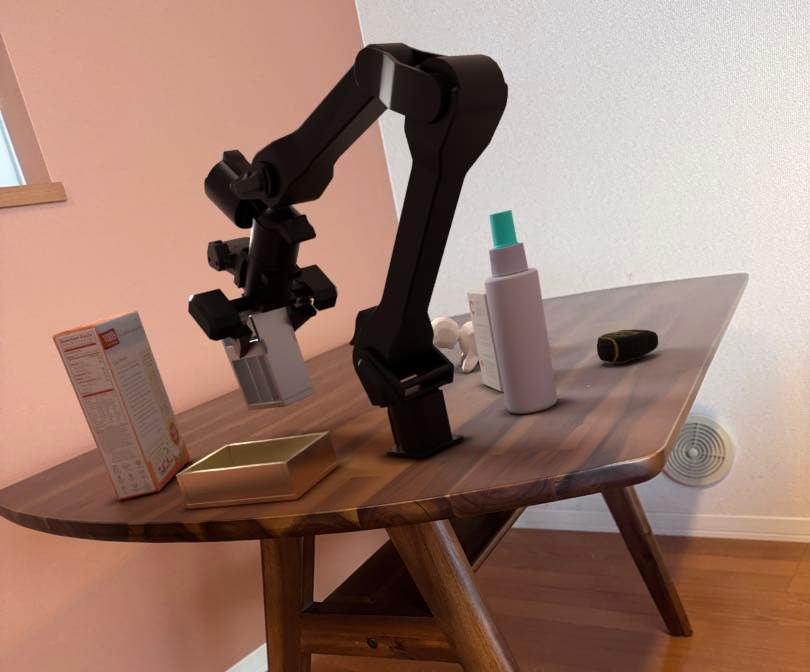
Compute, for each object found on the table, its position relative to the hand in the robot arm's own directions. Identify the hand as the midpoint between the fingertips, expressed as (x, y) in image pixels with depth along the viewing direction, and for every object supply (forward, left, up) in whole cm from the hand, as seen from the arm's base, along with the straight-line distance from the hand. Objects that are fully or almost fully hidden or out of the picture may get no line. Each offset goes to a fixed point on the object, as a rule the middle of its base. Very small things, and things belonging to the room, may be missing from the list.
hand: (258, 350), depth 104 cm
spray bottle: (-32, -16, -12) cm, 38 cm away
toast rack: (-1, 0, -7) cm, 7 cm away
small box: (-20, -26, -12) cm, 35 cm away
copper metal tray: (-18, +14, -12) cm, 26 cm away
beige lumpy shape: (-4, -36, -12) cm, 38 cm away
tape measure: (-31, -37, -12) cm, 50 cm away
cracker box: (+4, +18, -12) cm, 22 cm away
